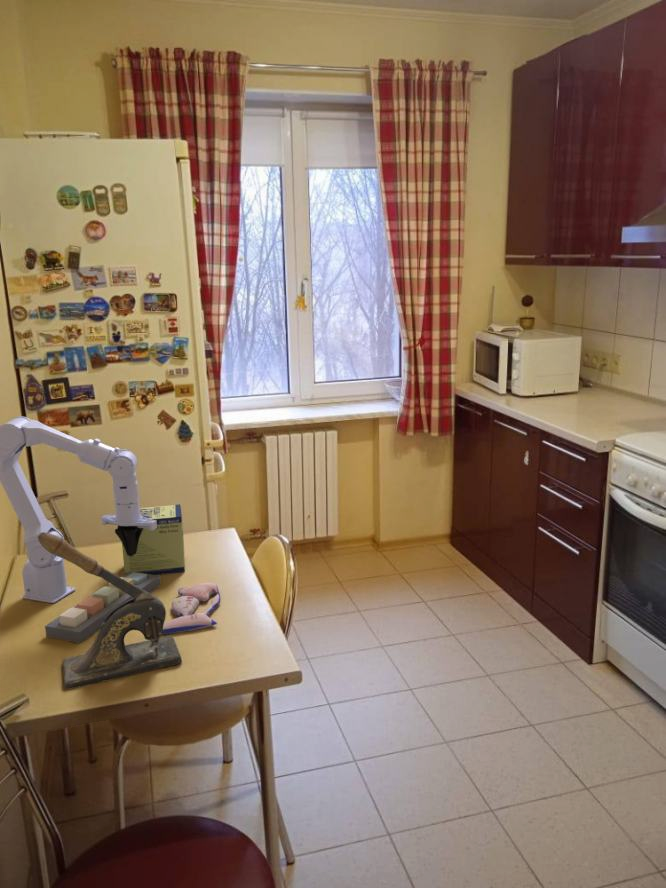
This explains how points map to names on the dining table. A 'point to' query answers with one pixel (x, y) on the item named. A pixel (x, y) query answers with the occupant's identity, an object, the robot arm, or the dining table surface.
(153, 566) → the protein powder box
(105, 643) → the embossing press
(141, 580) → the key blue
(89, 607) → the key terracotta
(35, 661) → the dining table surface
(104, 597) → the key sage
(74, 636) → the keypad board
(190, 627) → the anatomical model
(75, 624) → the key ivory
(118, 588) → the key ochre
